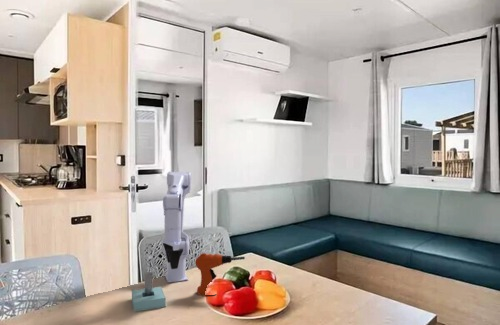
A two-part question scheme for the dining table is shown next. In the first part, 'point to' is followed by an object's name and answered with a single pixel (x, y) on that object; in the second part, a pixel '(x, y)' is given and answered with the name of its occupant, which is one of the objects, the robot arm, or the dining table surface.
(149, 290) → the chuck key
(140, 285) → the dining table surface
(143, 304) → the block
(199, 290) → the toy drill
